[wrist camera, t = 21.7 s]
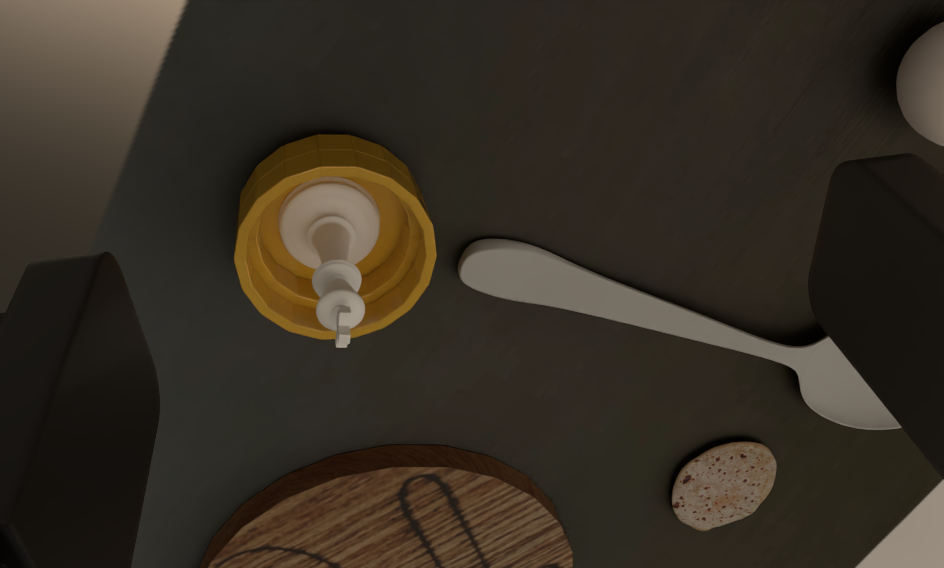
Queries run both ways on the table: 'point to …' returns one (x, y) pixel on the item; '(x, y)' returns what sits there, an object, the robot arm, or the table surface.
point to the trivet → (396, 516)
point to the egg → (924, 85)
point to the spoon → (668, 323)
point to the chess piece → (332, 245)
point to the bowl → (382, 271)
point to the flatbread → (723, 484)
